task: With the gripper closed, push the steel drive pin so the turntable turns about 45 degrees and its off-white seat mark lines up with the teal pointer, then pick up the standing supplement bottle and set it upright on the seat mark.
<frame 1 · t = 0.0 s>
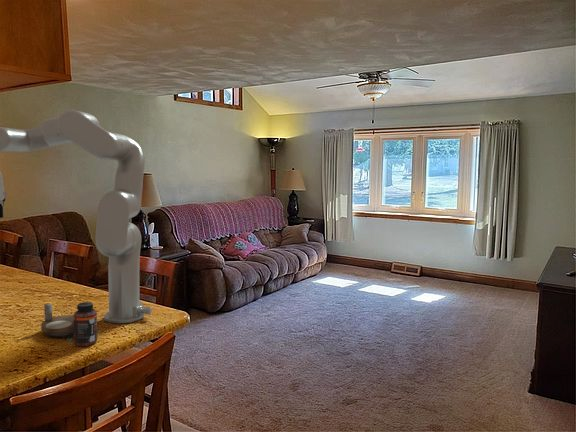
turntable: (65, 315, 132), point 5 cm above the counter, hinge at 0.0°
turntable base: (66, 331, 133), on the counter
supplement bottle: (85, 343, 124), on the counter
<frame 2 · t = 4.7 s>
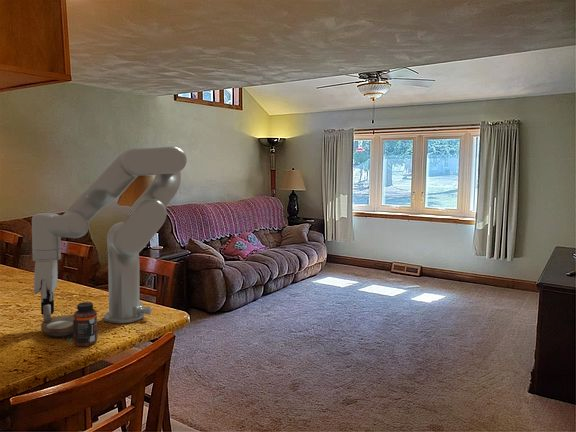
hand: (47, 313, 135), 4 cm above the counter, tool pointing down, fingers closed
turntable: (65, 315, 132), point 5 cm above the counter, hinge at 7.7°, touching gripper
everything else where it was.
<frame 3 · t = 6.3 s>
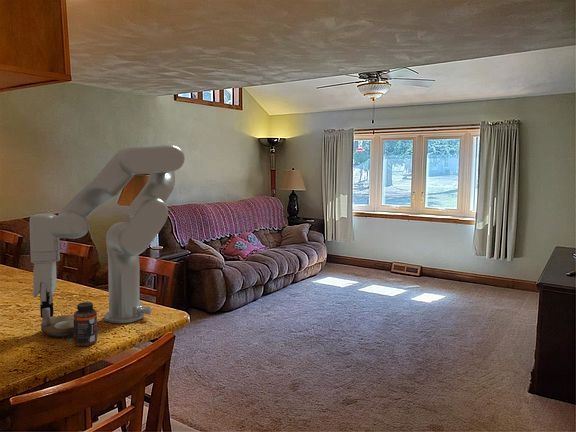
hand: (47, 316, 132), 5 cm above the counter, tool pointing down, fingers closed
turntable: (65, 315, 132), point 5 cm above the counter, hinge at 45.7°
everything else where it was.
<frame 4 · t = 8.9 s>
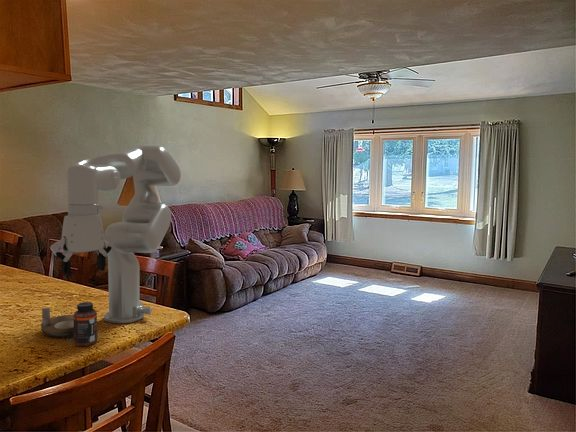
hand: (84, 272, 122), 20 cm above the counter, tool pointing down, fingers open, 9 cm apart
nothing on the counter moved.
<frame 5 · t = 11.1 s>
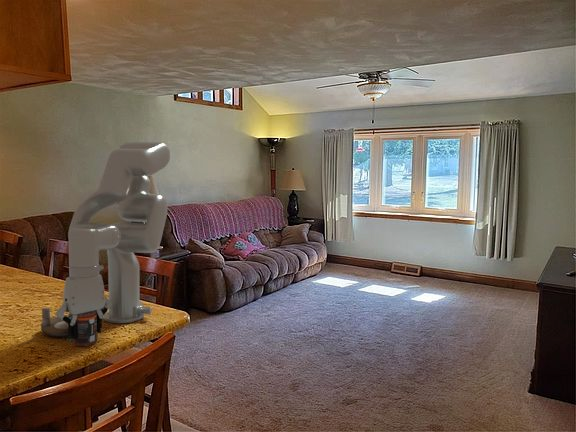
hand: (85, 334, 124), 3 cm above the counter, tool pointing down, fingers closed on supplement bottle, 6 cm apart
supplement bottle: (85, 343, 124), on the counter, touching gripper
everything else where it was.
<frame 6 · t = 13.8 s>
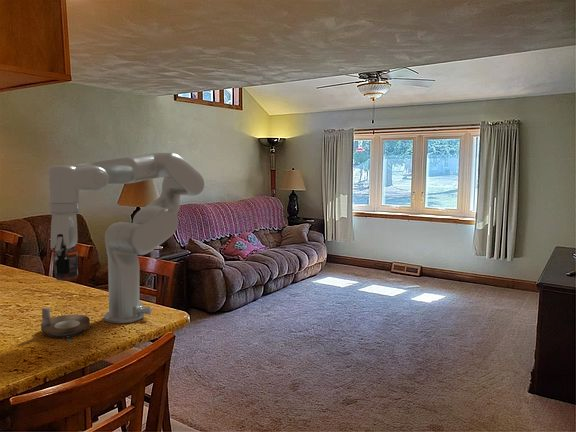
hand: (66, 270, 128), 19 cm above the counter, tool pointing down, fingers closed on supplement bottle, 6 cm apart
supplement bottle: (66, 279, 128), point 17 cm above the counter, touching gripper
everything else where it was.
when the fingers open (7 cm above the counter, at t = 16.6 s): supplement bottle stays where it is, resting on turntable.
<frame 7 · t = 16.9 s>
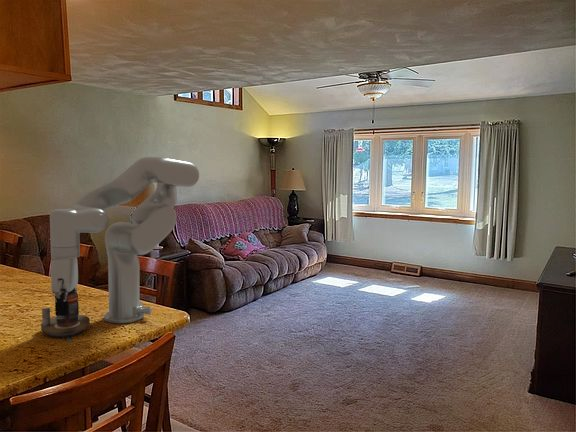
hand: (66, 309, 129), 7 cm above the counter, tool pointing down, fingers open, 8 cm apart
turntable: (65, 315, 132), point 5 cm above the counter, hinge at 45.8°, touching supplement bottle
supplement bottle: (67, 324, 130), point 3 cm above the counter, touching turntable
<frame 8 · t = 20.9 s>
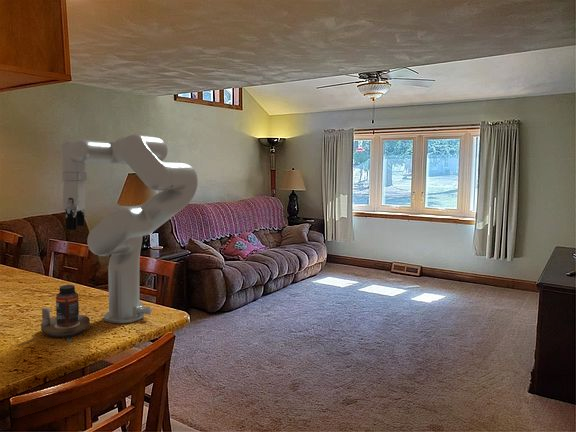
hand: (75, 227, 152), 28 cm above the counter, tool pointing down, fingers open, 9 cm apart
nothing on the counter moved.
at the end: turntable at +46° (first picture: +0°); supplement bottle 0.4 cm from the target spot, point 2.9 cm above the counter; supplement bottle tilted 1° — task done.
